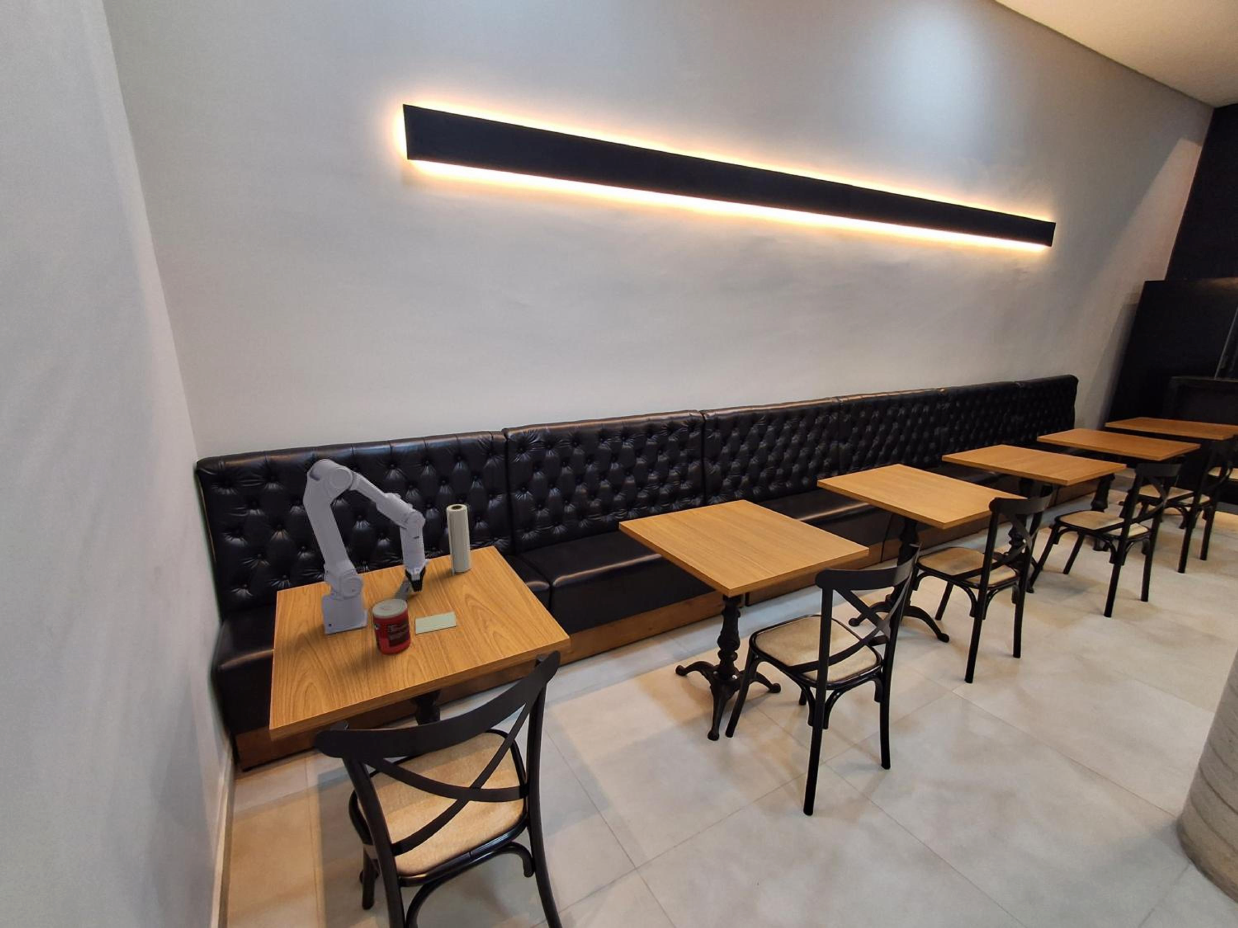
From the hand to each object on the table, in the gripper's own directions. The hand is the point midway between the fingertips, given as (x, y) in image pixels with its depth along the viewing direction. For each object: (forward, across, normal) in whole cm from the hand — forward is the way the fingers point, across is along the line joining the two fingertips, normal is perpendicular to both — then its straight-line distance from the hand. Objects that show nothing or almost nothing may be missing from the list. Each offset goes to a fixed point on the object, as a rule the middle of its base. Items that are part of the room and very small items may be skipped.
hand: (417, 590), depth 149 cm
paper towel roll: (+1, +11, -13) cm, 17 cm away
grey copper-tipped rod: (0, -4, +4) cm, 6 cm away
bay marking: (+1, -17, -4) cm, 18 cm away
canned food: (+1, -24, +6) cm, 25 cm away
